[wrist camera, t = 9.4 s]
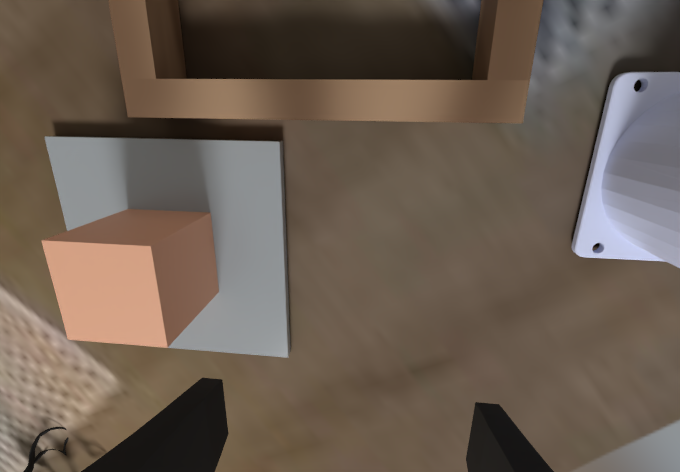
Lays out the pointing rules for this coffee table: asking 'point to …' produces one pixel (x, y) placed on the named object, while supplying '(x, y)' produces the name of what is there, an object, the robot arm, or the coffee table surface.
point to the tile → (197, 196)
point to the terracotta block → (134, 275)
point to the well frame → (325, 94)
